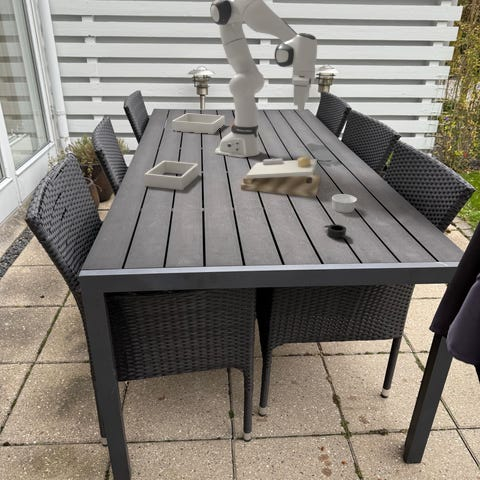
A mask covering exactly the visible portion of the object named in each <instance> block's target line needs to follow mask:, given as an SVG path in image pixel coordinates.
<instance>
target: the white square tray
mask: <svg viewBox="0 0 480 480" xmlns="http://www.w3.org/2000/svg"><path fill="white" fill-rule="evenodd" d="M225 117H226V116H225V115H218V114H205V113H204V114H201V113H191V112H190V113H188V112H187V113H184V114H183V115H181V116H179V117H177V118H174V119H173V120H172V121H171V125H172V126H171V128H172V129H171V130H175V131H174V132H177V131H181V133H189V132H194V133H193V134H201V133H208V134H207V135H214V134H216V133H217V132H218V131H219V130H220V129H219V128H221V127H222V126H223V125H224V124H225V122H226V118H225ZM223 127H224V126H223ZM223 127H222V128H223ZM222 128H221V129H222ZM218 129H219V130H218ZM217 130H218V131H217ZM216 131H217V132H216ZM213 133H214V134H213Z"/></svg>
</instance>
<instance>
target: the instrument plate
mask: <svg viewBox="0 0 480 480" xmlns="http://www.w3.org/2000/svg"><path fill="white" fill-rule="evenodd" d="M317 163H318V161H317V158H313V159H312V158H311V156H310V157H309V156H300V157H298V158H297V159H295V160H284V159H283V158H282V157H281V158H280V157H279V158H267V159H263V160H262V162H255V164H254V165H253V166H252V167H253V168H252V167H251V168H252V169H251V168H250V170H249V171H248V172H249V173H248V172H247V173H248V174H247V173H246V175H247V179H251V178H270V177H289V176H308V175H314V174H313V173H314V171H315V168H316V166H317Z"/></svg>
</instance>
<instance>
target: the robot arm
mask: <svg viewBox="0 0 480 480" xmlns="http://www.w3.org/2000/svg"><path fill="white" fill-rule="evenodd" d="M209 10H210V17H211V19H212V20H213V22H214V23H215V24H216V25H218V30H219V35H220V40H221V43H222V47H223V51H224V53H225V56H226V60H227V62H228V64H229V65H230V66H231V67H232V69H233V71H234V72H235V75H233V77H232V78H231V79H230V81H229V83H228V84H229V85H228V89H229V92H230V93H231V95H232V97H233V104H234V111H235V112H234V115H235V116H234V123H232V124H231V126H230V132H229V133H227V134H226V135H225V136H223V138H221V140H220V142H219V146H218V147H216V148H215V151H214V153H215V154H216V155H221V156H227V155H228V157H235V158H246V157H254V156H258V155H259V154H260V149H259V140H258V136H259V124H258V119H259V118H258V117H259V110H258V109H259V108H258V106H257V103H256V98H255V95H256V94H258V93H259V92H260V91H261V90H262V89H263V87H264V86H265V77H264V75H263V74H262V73H261V72H260V70H259V68H258V66H257V64H256V62H255V60H254V59H253V56H252V54H251V51H250V48H249V44H248V41H247V38H246V35H245V32H244V29H243V23H245V25H246V26H247V27H248V28H249V29H250V30H252V31H254V32H256V33H261V34H265V35H269V36H270V35H271V36H274V37H276V38H278V39H280V41H282V42H280V43H278V44H277V46H276V47H275V50H274V60H275V63H276V64H277V66H279V67H281V68H292V77H291V79H292V80H291V83H292V84H291V85H292V86H293V105H294V106H296V107H297V115H303V114H304V112H305V105H306V102H307V101H308V100H309V98H310V88H311V87H312V84H313V85H314V84H315V78H316V61H317V57H318V56H317V55H318V41H317V37H316V36H315V35H313V34H311V33H306V32H305V33H303V32H300V33H297V32H296V31H295V29H293V28H292V27H291V26H290V25H289V24H288V23H287V22H286V21H285V20H284V19H282V17H280V16H279V15H277V14H276V13H275V12H274V10H272V8H270V7H269V6H268V4H266V2H265V1H264V0H213V1H212V3H211V4H210V8H209Z"/></svg>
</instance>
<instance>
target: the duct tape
mask: <svg viewBox="0 0 480 480" xmlns="http://www.w3.org/2000/svg"><path fill="white" fill-rule="evenodd" d="M322 228H323V229H326V230H327V231H326V232H327V233H326V236H327V237H328V238H329V239H332V240H339V241H340V240H344V239H346V240H350V239H351V238H350V237H349V236H347V228H346V226H344V225H342V224H337V223H335V224H330V225H324V226H323V227H322Z"/></svg>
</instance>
